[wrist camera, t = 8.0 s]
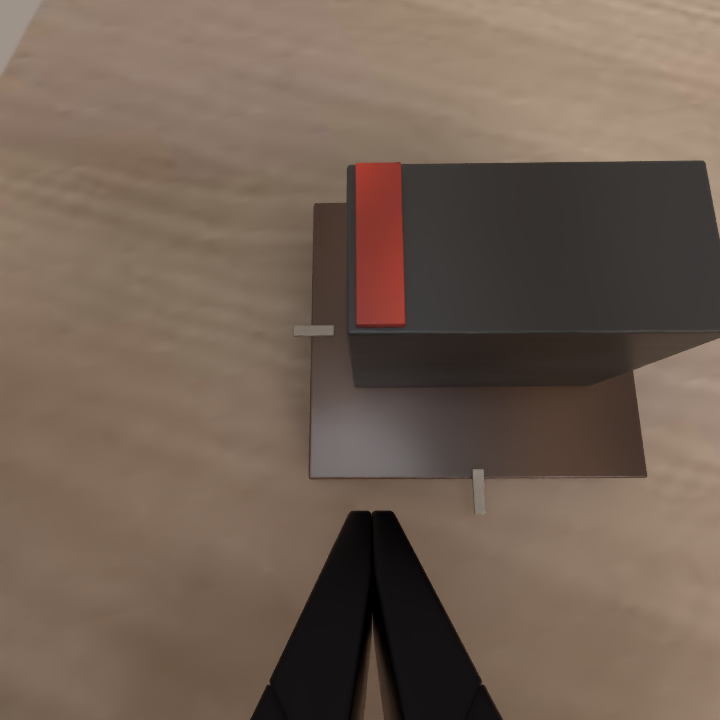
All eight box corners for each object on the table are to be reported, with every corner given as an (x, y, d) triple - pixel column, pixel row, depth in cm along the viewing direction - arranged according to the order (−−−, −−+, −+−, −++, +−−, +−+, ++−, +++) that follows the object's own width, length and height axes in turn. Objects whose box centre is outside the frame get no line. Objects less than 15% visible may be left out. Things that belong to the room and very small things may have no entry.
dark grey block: (578, 275, 17) (714, 151, 10) (591, 385, 16) (748, 328, 9) (353, 277, 17) (346, 156, 10) (354, 387, 16) (346, 331, 10)
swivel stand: (597, 201, 20) (625, 170, 18) (637, 508, 17) (675, 513, 15) (304, 205, 20) (297, 173, 18) (297, 509, 17) (288, 514, 15)
